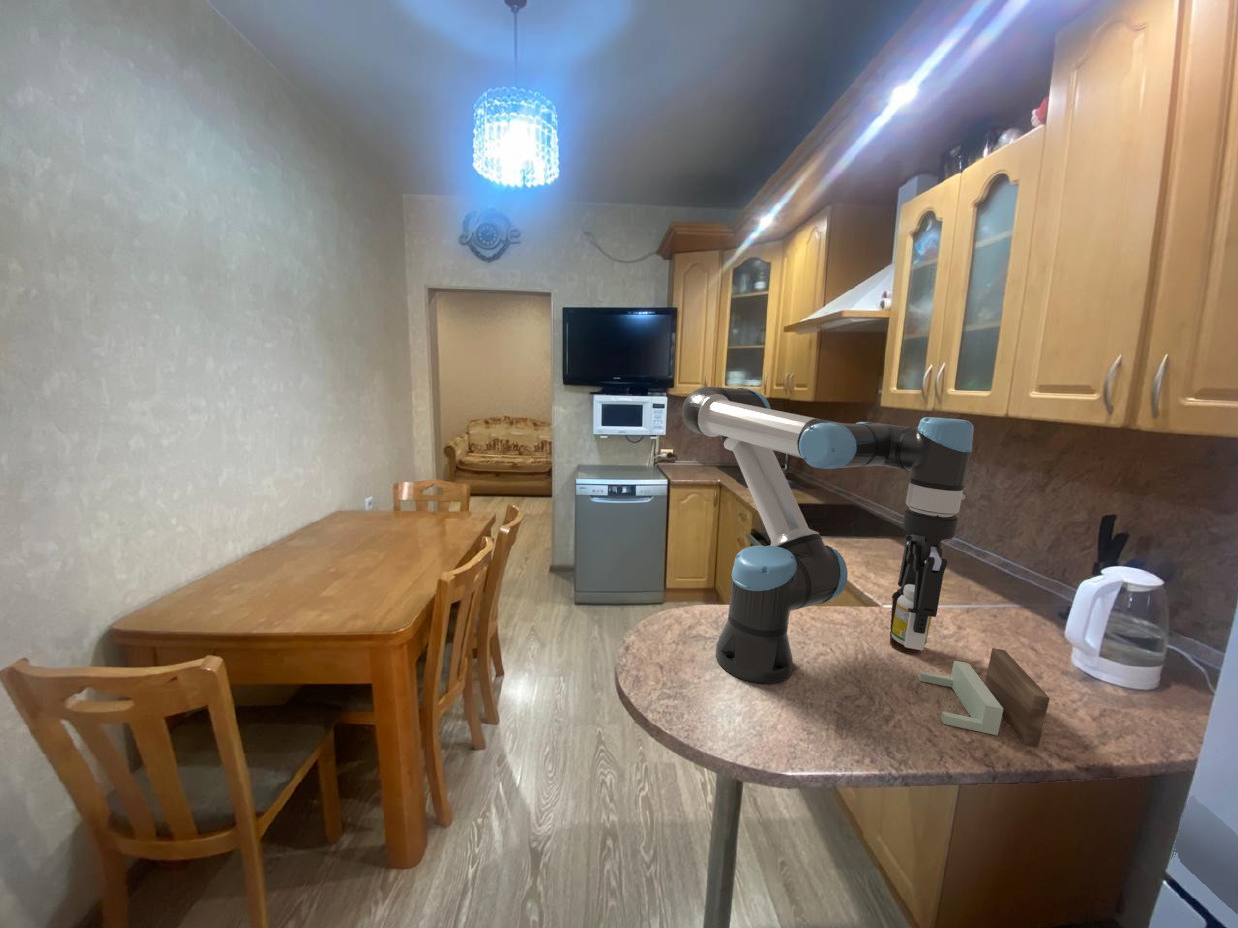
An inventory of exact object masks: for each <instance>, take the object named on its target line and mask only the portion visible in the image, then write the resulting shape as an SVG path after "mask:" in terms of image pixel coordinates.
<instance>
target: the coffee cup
mask: <svg viewBox="0 0 1238 928" xmlns="http://www.w3.org/2000/svg"><path fill="white" fill-rule="evenodd" d="M901 595H903V594H901V592H900V588H898V589H897V590H896V591H895V592H894V593H892V595H891V599H892V602H891V603H892V605H891V614H890V615H891V617H890V627H889V628H890V631H889V644H890V646H891V647H892V648H894V649H896V650H897V651H900V652H902V653H907V654H910V655H911V654H912V655H919V654H921V653H922V652H923V651H922V650H917V649H912V648H907V647H905V646H904V645H903V644H901V643H899V642H897V641H896V640H895V639H894V638H893V637H892V635H891V633H892V627H893V621H894V616H895V610H896V604H897V600H898V598H899V597H900V596H901Z"/></svg>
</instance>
